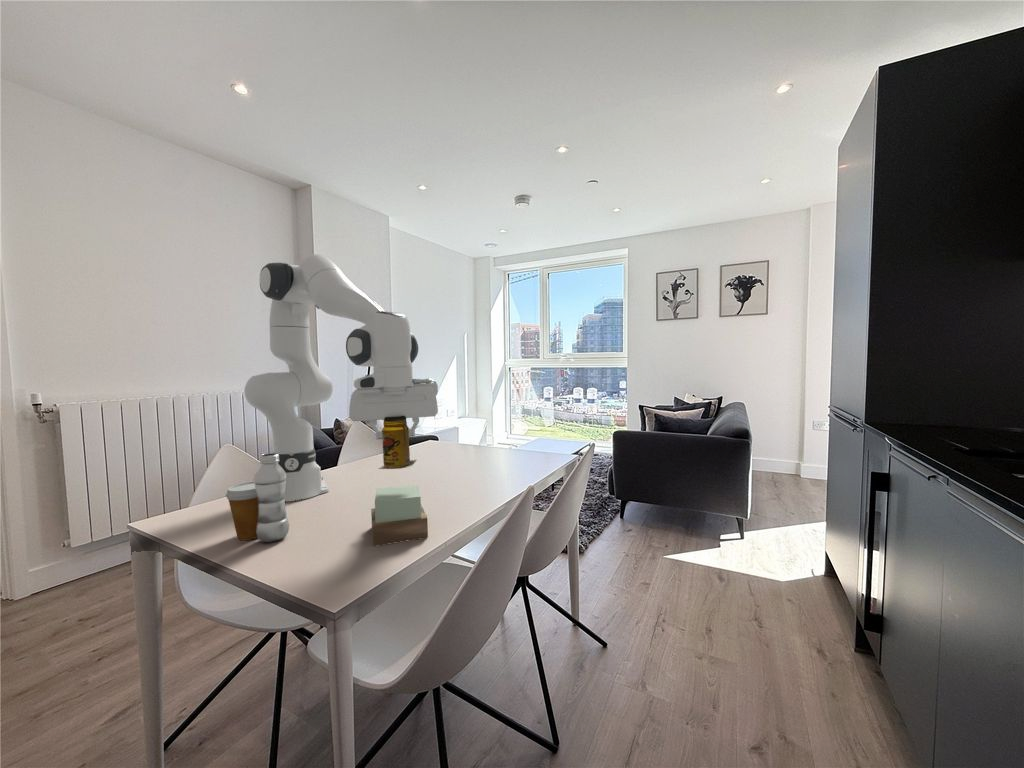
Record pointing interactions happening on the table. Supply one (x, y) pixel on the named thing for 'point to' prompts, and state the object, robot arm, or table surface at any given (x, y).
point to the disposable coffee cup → (244, 509)
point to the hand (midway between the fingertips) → (395, 437)
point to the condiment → (396, 443)
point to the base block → (399, 529)
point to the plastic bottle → (271, 499)
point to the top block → (397, 503)
